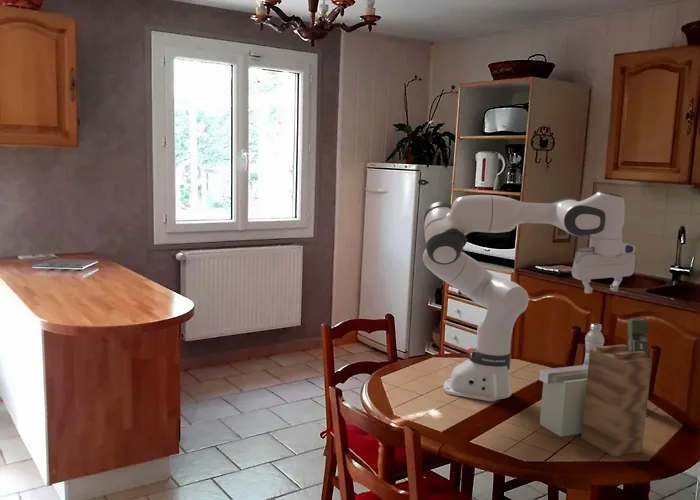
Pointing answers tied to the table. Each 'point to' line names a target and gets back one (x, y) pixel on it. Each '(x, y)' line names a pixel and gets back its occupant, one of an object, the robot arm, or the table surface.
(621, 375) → the wood grain block
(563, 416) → the shelf block
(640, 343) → the mechanical leg
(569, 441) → the table surface
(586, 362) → the plastic bottle
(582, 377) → the link bar
